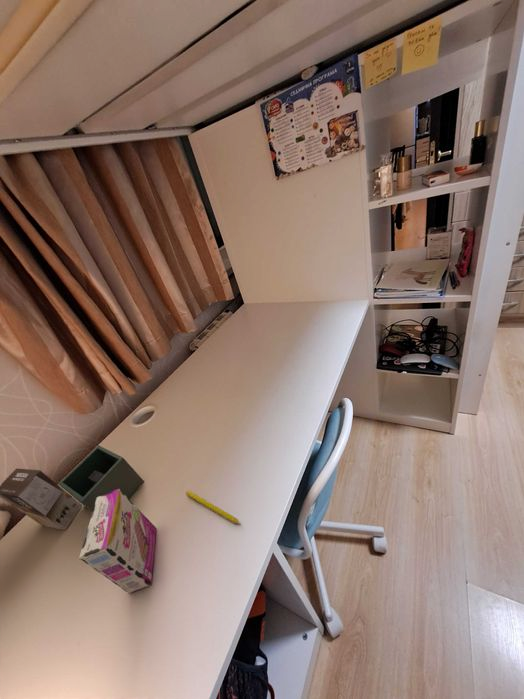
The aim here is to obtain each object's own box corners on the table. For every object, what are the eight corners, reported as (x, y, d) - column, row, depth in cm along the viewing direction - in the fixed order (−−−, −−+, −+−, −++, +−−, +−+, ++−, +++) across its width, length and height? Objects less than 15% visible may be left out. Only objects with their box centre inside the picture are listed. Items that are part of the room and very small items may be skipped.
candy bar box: (153, 585, 56) (106, 548, 47) (129, 595, 55) (76, 560, 46) (158, 526, 65) (119, 487, 56) (137, 534, 65) (94, 496, 56)
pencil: (187, 495, 69) (185, 493, 69) (189, 492, 70) (188, 489, 69) (240, 527, 60) (238, 525, 59) (242, 522, 60) (241, 520, 60)
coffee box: (83, 504, 76) (41, 469, 67) (65, 530, 71) (17, 496, 62) (59, 501, 79) (16, 467, 70) (40, 526, 74) (-9, 493, 65)
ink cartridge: (104, 494, 76) (86, 477, 71) (111, 486, 77) (94, 469, 73) (115, 500, 73) (97, 483, 69) (122, 492, 75) (105, 474, 70)
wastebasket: (83, 505, 75) (57, 483, 69) (119, 467, 83) (98, 445, 77) (108, 524, 69) (81, 501, 63) (144, 481, 76) (123, 457, 71)
